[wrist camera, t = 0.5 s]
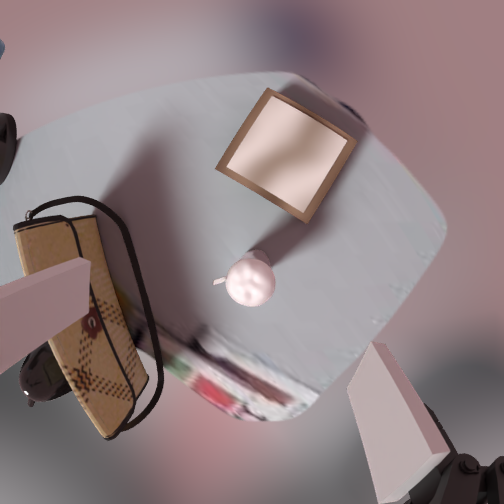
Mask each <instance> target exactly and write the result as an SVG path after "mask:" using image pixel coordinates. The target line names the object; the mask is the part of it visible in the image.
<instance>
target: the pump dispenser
mask: <svg viewBox="0 0 504 504" xmlns="http://www.w3.org/2000/svg"><path fill="white" fill-rule="evenodd" d="M19 384H20V387H21V389H22V391H23V393H24V394H25V395H26V396H27V397H28V405H29V406H30V407H33V406H34V403H35V401H36V402H46V401H51V400H53V399H57V398H59V397H61V396H63V395H65V394H67V393H69V392H71V391H72V388H71V386H70V385H69V383H68V381H67V379H66V377H65V375H64V374H63V372H62V370H61V368H60V366H59V364H58V362H57V360H56V358H55V356H54V353H53V351H52V349H51V347H50V345H49V342H48V341H46V342H45V343H43V344H42V345H40V346H39V347H38V348H36V349H35V350H33V351H32V352H30V353H29V354H28V356H27V357H26V359H25V360H24V362H23V365H22V367H21V370H20V374H19Z"/></svg>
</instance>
